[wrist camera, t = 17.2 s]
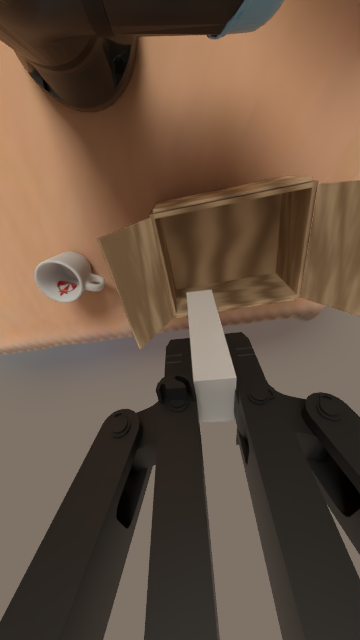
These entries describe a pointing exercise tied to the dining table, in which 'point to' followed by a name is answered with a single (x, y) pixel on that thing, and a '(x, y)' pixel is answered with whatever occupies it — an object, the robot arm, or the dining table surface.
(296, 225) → the carton
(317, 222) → the flap right
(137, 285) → the flap left
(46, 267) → the cup
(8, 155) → the dining table surface
